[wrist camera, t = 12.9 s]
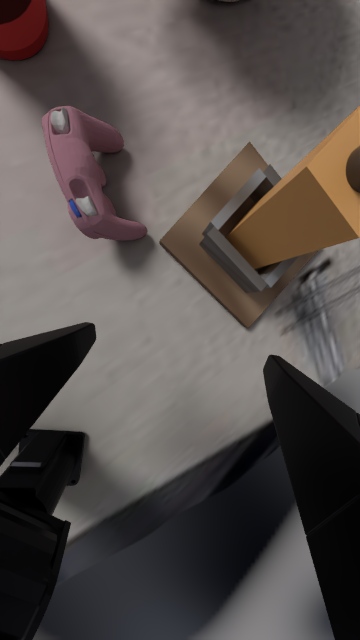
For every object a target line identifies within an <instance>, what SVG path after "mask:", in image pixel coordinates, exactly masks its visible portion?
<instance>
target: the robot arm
mask: <svg viewBox="0 0 360 640" xmlns="http://www.w3.org/2000/svg"><path fill="white" fill-rule="evenodd" d="M95 341H96V331H95V325H94V324H93V323H88V322H84V323H81V324H77V325H73V326H69V327H65V328H61V329H57V330H53V331H49V332H45V333H41V334H38V335H34V336H30V337H26V338H22V339H18V340H14V341H10V342H6V343H3V344H0V466H1V465H2V463H3V462H4V461H5V459H6V458H7V457H8V456H9V454H10V453H11V452H12V451H13V449H14V448H15V447H16V446H17V444H18V443H19V442H20V443H19V454H18V455H17V456H16V458H15V459H14V460H13V461H12V462H11V463H10V466H9V467H8V468H7V469H6V470H5V471H4V472H3V474H2V475H1V476H0V640H32V639H33V637H34V635H35V633H36V631H37V629H38V627H39V625H40V623H41V620H42V618H43V616H44V614H45V611H46V609H47V607H48V604H49V602H50V599H51V597H52V594H53V591H54V588H55V585H56V582H57V578H58V574H59V570H60V566H61V562H62V558H63V554H64V550H65V546H66V542H67V537H68V533H69V529H70V525H71V523H70V522H68V521H66V520H65V521H63V520H60V519H58V518H56V517H54V516H52V514H53V512H54V510H55V508H56V506H57V504H58V502H59V499H60V497H61V495H62V493H63V491H64V489H65V487H66V485H69V486H73V485H76V484H77V483H78V481H79V478H80V470H81V462H82V455H83V447H84V439H85V434H84V433H83V432H72V431H53V430H34V429H30V428H31V427H32V425H33V424H34V423H35V421H36V420H37V419H38V418H39V416H40V415H41V414H42V413H43V411H44V410H45V409H46V408H47V406H48V405H49V404H50V402H51V401H52V400H53V399H54V397H55V396H56V395H57V394H58V392H59V391H60V390H61V389H62V387H63V386H64V385H65V383H66V382H67V381H68V380H69V378H70V377H71V376H72V375H73V373H74V372H75V371H76V370H77V368H78V367H79V366H80V364H81V363H82V361H83V360H84V358H85V357H86V355H87V353H88V352H89V350H90V349H91V347H92V346H93V344H94V342H95ZM263 374H264V380H265V386H266V392H267V398H268V403H269V407H270V410H271V414H272V417H273V421H274V424H275V428H276V432H277V435H278V439H279V442H280V446H281V449H282V452H283V456H284V460H285V463H286V467H287V471H288V474H289V478H290V481H291V485H292V488H293V491H294V495H295V499H296V503H297V506H298V510H299V513H300V517H301V520H302V524H303V527H304V531H305V534H306V535H307V536H306V538H307V542H308V546H309V549H310V553H311V556H312V560H313V564H314V567H315V571H316V574H317V578H318V581H319V585H320V588H321V592H322V595H323V599H324V602H325V606H326V610H327V613H328V617H329V620H330V624H331V627H332V631H333V635H334V638H335V640H360V414H359V413H356V412H355V411H354V410H353V409H352V408H350V407H349V406H347V405H346V404H345V403H343V402H342V401H340V400H339V399H338V398H336V397H335V396H333V395H332V394H331V393H330V392H328V391H327V390H325V389H324V388H323V387H321V386H320V385H319V384H317V383H316V382H314V381H313V380H312V379H310V378H309V377H307V376H306V375H305V374H303V373H302V372H301V371H299V370H298V369H296V368H295V367H294V366H292V365H291V364H289V363H288V362H287V361H285V360H284V359H283V358H281V357H280V356H277V355H269V356H268V359H267V361H266V363H265V366H264V368H263ZM26 434H27V435H26ZM79 437H81V438H79Z"/></svg>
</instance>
